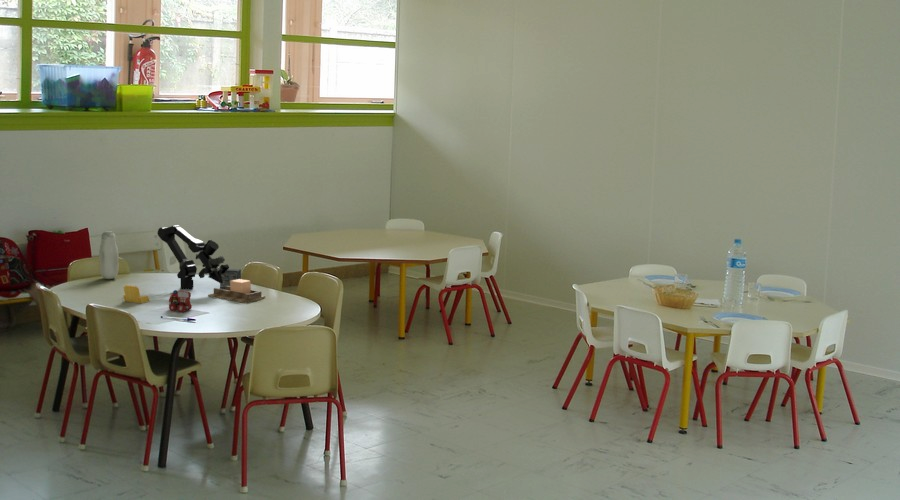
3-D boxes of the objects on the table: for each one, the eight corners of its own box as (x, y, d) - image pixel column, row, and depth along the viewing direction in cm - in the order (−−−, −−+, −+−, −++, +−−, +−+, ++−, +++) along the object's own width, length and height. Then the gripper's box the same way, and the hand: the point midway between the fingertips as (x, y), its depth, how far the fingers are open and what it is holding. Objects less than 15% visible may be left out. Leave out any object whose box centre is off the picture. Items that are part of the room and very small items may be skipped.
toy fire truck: (174, 308, 501) (173, 288, 499) (194, 310, 496) (194, 290, 495) (165, 310, 494) (165, 290, 493) (186, 313, 490) (186, 292, 488)
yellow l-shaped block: (150, 301, 516) (150, 283, 514) (138, 304, 507) (138, 286, 505) (133, 299, 519) (133, 281, 518) (121, 302, 510) (121, 284, 509)
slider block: (230, 295, 529) (230, 280, 528) (239, 293, 535) (239, 278, 533) (241, 297, 525) (241, 282, 524) (250, 295, 531) (250, 280, 530)
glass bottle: (104, 276, 575) (103, 229, 570) (121, 277, 574) (120, 230, 569) (96, 280, 565) (95, 231, 560) (114, 280, 564) (113, 232, 559)
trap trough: (208, 296, 531) (208, 289, 530) (228, 291, 545) (228, 284, 544) (245, 302, 518) (245, 295, 517) (265, 297, 532) (265, 290, 531)
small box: (241, 287, 558) (241, 268, 557) (238, 289, 552) (238, 270, 550) (223, 286, 559) (223, 268, 558) (219, 288, 553) (219, 270, 551)
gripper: (202, 253, 527) (217, 276, 524) (226, 249, 543) (241, 271, 540) (191, 266, 533) (206, 289, 529) (216, 261, 549) (231, 284, 545)
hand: (222, 283), depth 535 cm, fingers closed
